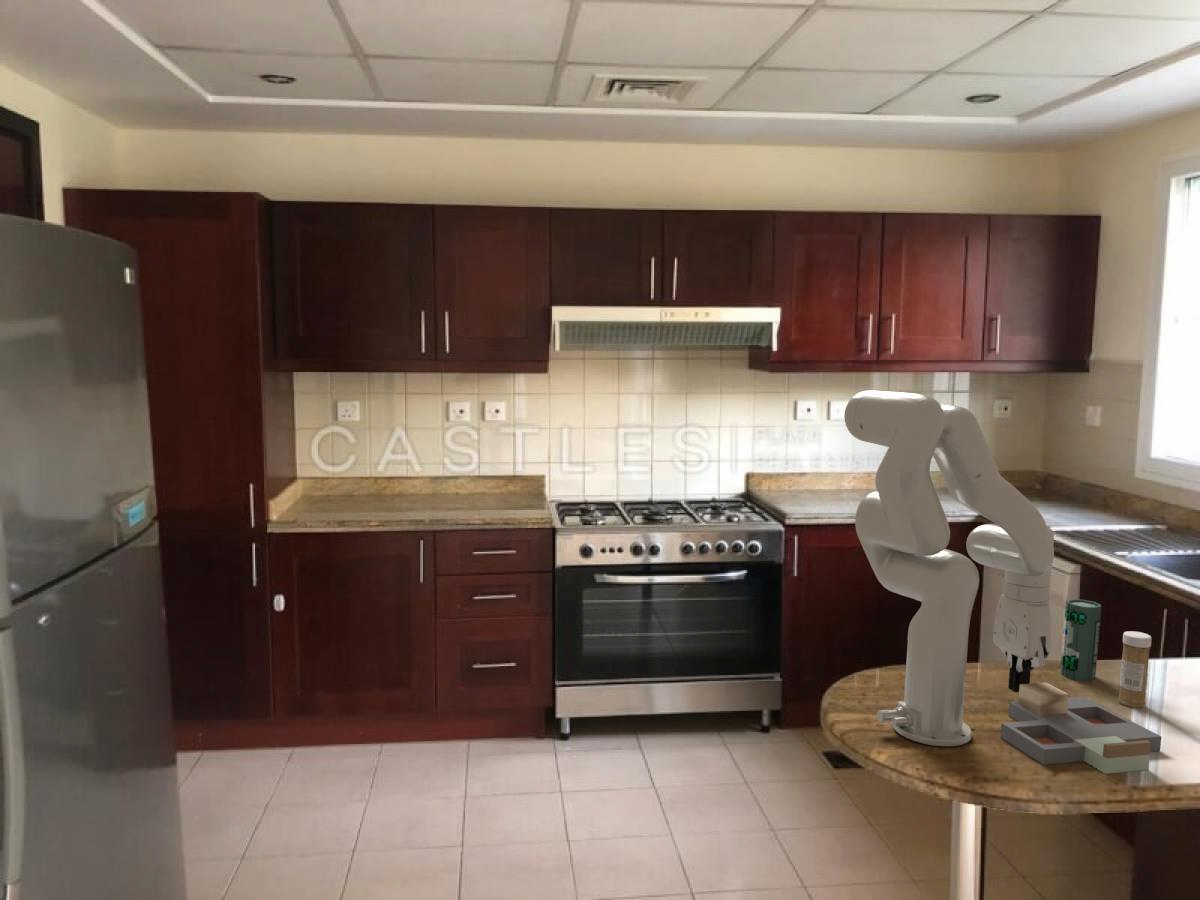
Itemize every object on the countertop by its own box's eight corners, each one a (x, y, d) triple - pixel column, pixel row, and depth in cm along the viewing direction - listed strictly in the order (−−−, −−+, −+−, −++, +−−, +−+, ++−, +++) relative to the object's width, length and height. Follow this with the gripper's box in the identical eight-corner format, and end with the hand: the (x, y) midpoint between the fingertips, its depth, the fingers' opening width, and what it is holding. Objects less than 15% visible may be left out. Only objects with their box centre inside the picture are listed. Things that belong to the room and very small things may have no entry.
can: (1058, 668, 191) (1064, 597, 189) (1091, 672, 189) (1097, 601, 187) (1063, 678, 185) (1069, 605, 183) (1097, 682, 183) (1103, 609, 181)
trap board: (1063, 777, 141) (1065, 749, 141) (971, 718, 163) (973, 694, 163) (1188, 765, 146) (1190, 738, 146) (1082, 709, 169) (1084, 686, 168)
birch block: (1039, 715, 159) (1040, 695, 159) (1018, 703, 164) (1019, 684, 164) (1066, 713, 160) (1068, 693, 160) (1044, 701, 166) (1046, 682, 165)
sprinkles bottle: (1150, 705, 172) (1156, 635, 170) (1137, 710, 169) (1144, 639, 167) (1124, 697, 175) (1131, 628, 174) (1112, 702, 173) (1118, 632, 171)
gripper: (981, 582, 173) (974, 677, 175) (1036, 604, 158) (1028, 707, 160) (1016, 581, 174) (1009, 674, 176) (1074, 602, 160) (1065, 704, 162)
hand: (1018, 690), depth 168 cm, fingers closed
